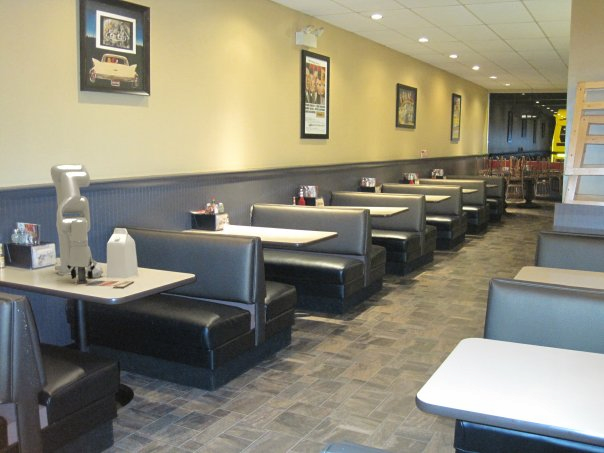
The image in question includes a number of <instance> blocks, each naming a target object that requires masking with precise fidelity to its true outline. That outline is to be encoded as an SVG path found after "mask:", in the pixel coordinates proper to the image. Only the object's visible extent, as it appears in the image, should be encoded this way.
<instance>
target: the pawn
mask: <svg viewBox="0 0 604 453" xmlns="http://www.w3.org/2000/svg"><path fill="white" fill-rule="evenodd" d="M85 270H86V267H78V274H77V281H76V283H77V284H86V283H87V281H88V279H87V275H86V271H85Z"/></svg>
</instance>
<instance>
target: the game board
mask: <svg viewBox="0 0 604 453" xmlns="http://www.w3.org/2000/svg"><path fill="white" fill-rule="evenodd" d="M134 283H135V281H133V280H132V281H130V280H128V281H127V280H126V281H125V280H124V281H123V280H122V281H121V280H87V283H86V284H77V282H75V283H73V284H72V286H77V287H78V286H79V287H80V286H85V287H87V286H88V287H89V286H90V287H98V286H99V287H112V289H125V288H127V287H129V286H130V285H132V284H134Z"/></svg>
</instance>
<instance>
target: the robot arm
mask: <svg viewBox="0 0 604 453" xmlns="http://www.w3.org/2000/svg"><path fill="white" fill-rule="evenodd" d="M50 176H51V180H52V183H53V185H54V187H55V189H56V190H55V191H56V201H57V210H56V222H55V224H56V230H57V235H58V243H59V258H60V259H59V260H60V262H59V263H60V265H55V266H54V270H57V271H58V272H57V274H58V275H60V276H65V275H70V277H71V279H76V278H77V275H78V267H85V268H87V269H88V270H89V271H88V277H87V280H90V279H93V278H92V277H93V272H92V270H93V269H94V268H95V267H96V265H97V264H98V262H97V261H96V260H95V259H93V257H92V252H91V251H92V250H91V247H90V246H89V238H88V232H89V231H90V230H91V214H90V203H89V200H88V198H87V196H84V195H81V192H80V188H88V187H90V184H91V178H90V174H89V171H88V170H87V168H86V166H85V165H84V164H81V163H76V164H75V163H71V164H68V163H67V164H65V163H64V164H55V165H53V166H51V168H50ZM63 214H64V215H67V216H63ZM69 214H70V215H69ZM71 214H79V215H71ZM68 215H69V216H68ZM92 264H93V266H91V265H92Z"/></svg>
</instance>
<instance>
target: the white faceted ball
mask: <svg viewBox="0 0 604 453" xmlns="http://www.w3.org/2000/svg"><path fill="white" fill-rule="evenodd" d="M91 266H93V263H92V265H91ZM85 271H86V278H88V271H89V270H88V269H87V267H85ZM92 272H93V277H92V278H91V279H100V278H101V276H103V273H104V271H103V268H102V266H101V265H100V263H97V265H96V267H95V268H94V269H93V270H92Z"/></svg>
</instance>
